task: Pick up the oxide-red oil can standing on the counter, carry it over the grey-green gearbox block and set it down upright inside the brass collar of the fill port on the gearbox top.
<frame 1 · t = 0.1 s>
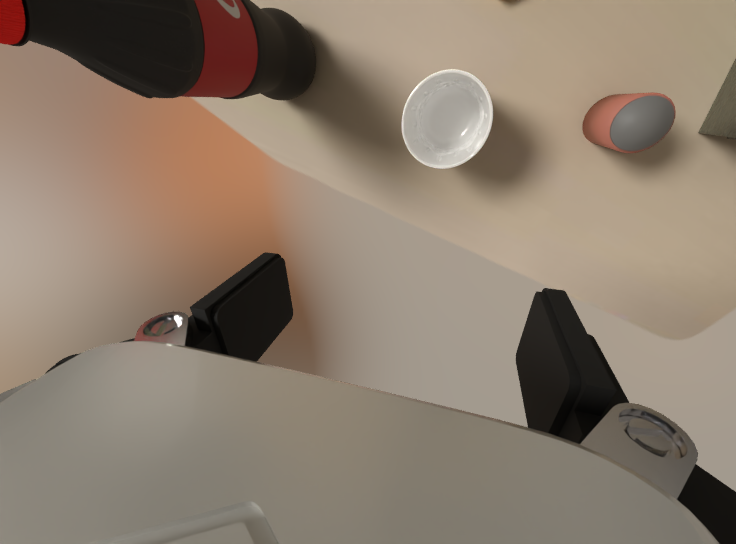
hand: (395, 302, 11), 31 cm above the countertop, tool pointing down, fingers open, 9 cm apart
oil can: (608, 120, 31), on the countertop
cola bottle: (291, 60, 37), on the countertop
white cup: (450, 117, 35), on the countertop
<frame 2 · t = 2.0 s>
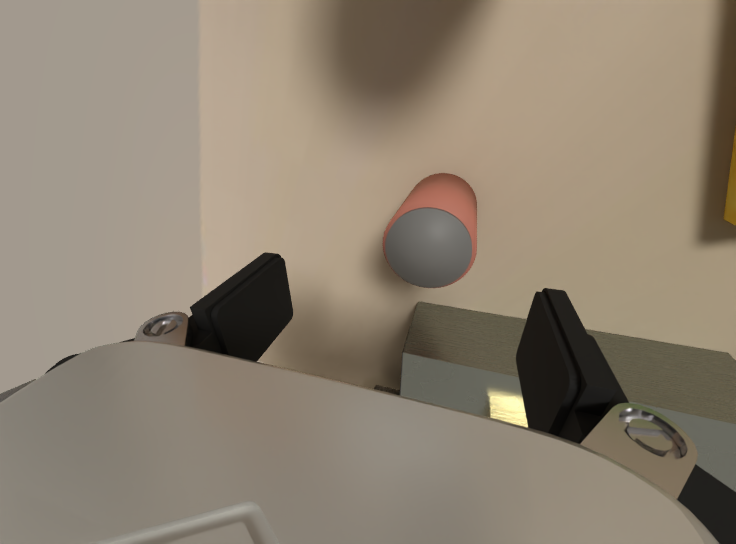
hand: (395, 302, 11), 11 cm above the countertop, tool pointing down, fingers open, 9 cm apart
oil can: (441, 208, 20), on the countertop
gearbox: (529, 388, 25), on the countertop
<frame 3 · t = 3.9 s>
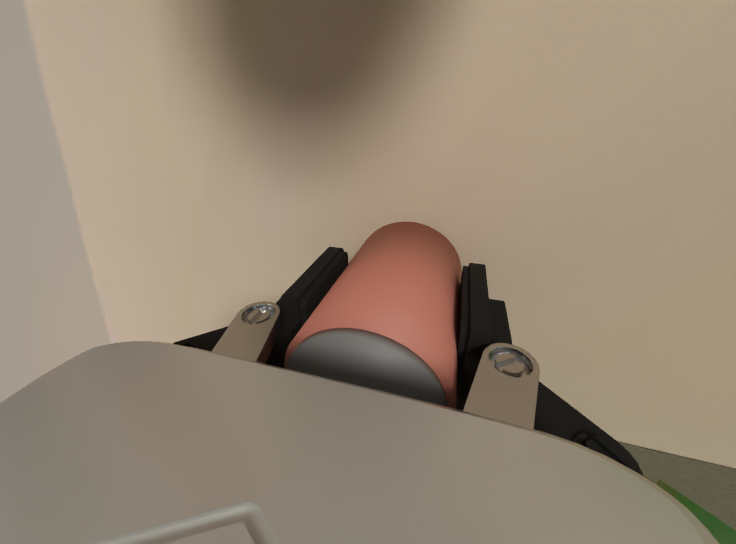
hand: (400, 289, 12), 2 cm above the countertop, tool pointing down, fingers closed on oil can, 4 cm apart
oil can: (407, 270, 13), on the countertop, touching gripper
gearbox: (538, 500, 18), on the countertop
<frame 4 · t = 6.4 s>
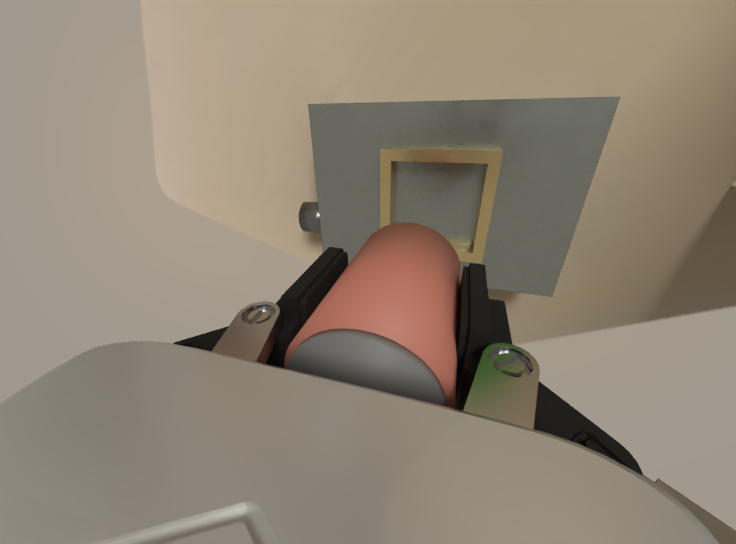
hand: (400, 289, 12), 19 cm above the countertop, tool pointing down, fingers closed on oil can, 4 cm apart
oil can: (407, 271, 13), point 18 cm above the countertop, touching gripper
gearbox: (440, 186, 28), on the countertop
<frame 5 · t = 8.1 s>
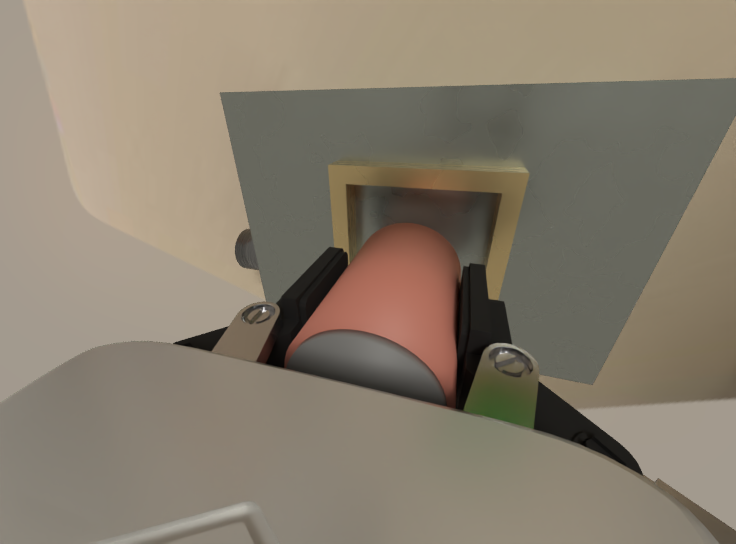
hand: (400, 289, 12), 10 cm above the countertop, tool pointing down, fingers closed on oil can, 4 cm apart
oil can: (407, 271, 13), point 8 cm above the countertop, touching gripper
gearbox: (430, 211, 20), on the countertop
when the fingers open (8 cm above the countertop, at t = 9.2 s): oil can stays where it is, resting on gearbox.
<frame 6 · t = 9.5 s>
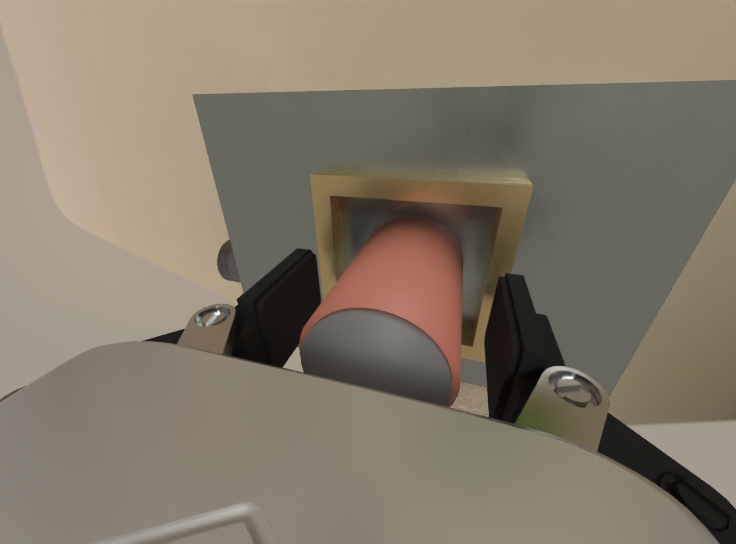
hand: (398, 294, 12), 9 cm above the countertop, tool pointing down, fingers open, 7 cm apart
oil can: (411, 263, 14), point 6 cm above the countertop, touching gearbox
gearbox: (425, 221, 19), on the countertop
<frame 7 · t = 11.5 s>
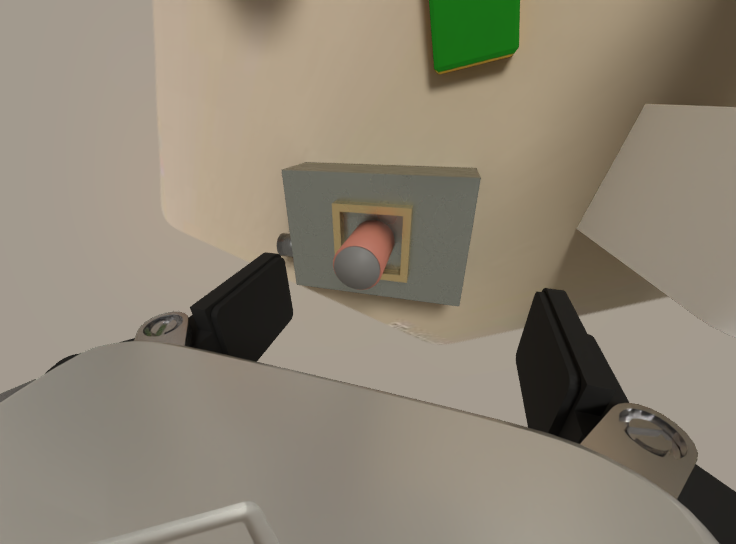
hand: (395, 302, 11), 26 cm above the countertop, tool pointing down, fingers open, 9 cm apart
oil can: (373, 240, 32), point 6 cm above the countertop, touching gearbox
milk: (669, 185, 29), on the countertop
gearbox: (384, 223, 38), on the countertop
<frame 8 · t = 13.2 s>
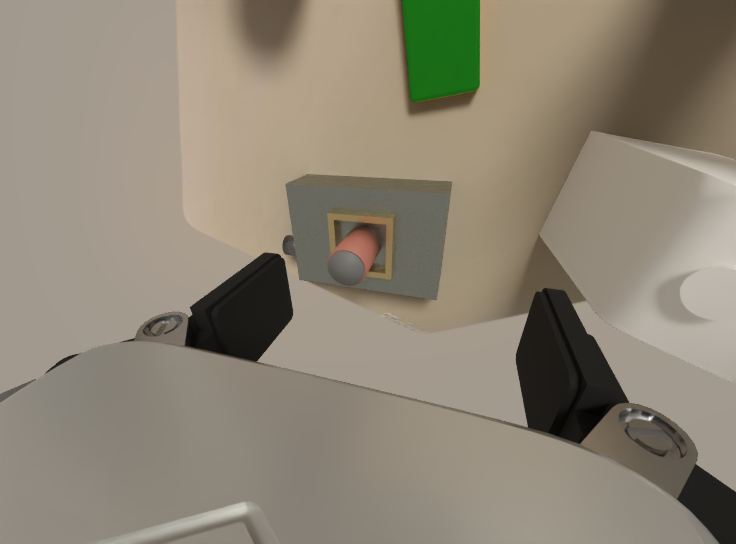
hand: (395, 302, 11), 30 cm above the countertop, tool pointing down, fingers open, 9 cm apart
oil can: (363, 243, 38), point 6 cm above the countertop, touching gearbox
dish sponge: (442, 20, 31), on the countertop
milk: (615, 198, 33), on the countertop
gearbox: (375, 227, 43), on the countertop
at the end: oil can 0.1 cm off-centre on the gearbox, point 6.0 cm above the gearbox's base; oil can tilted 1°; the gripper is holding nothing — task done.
